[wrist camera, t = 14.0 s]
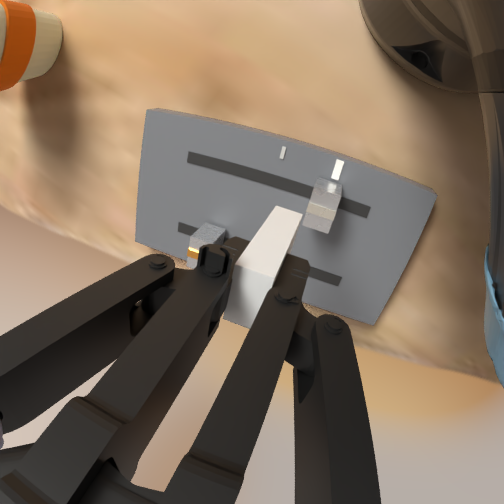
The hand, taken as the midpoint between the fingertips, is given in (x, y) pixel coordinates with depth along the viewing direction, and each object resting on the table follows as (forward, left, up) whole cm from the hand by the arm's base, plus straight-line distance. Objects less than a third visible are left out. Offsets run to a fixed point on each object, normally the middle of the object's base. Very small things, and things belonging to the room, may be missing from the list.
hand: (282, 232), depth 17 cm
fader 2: (-1, +1, -9) cm, 9 cm away
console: (+4, +2, -11) cm, 12 cm away
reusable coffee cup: (+26, -27, -11) cm, 39 cm away
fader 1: (+9, +3, -9) cm, 13 cm away
